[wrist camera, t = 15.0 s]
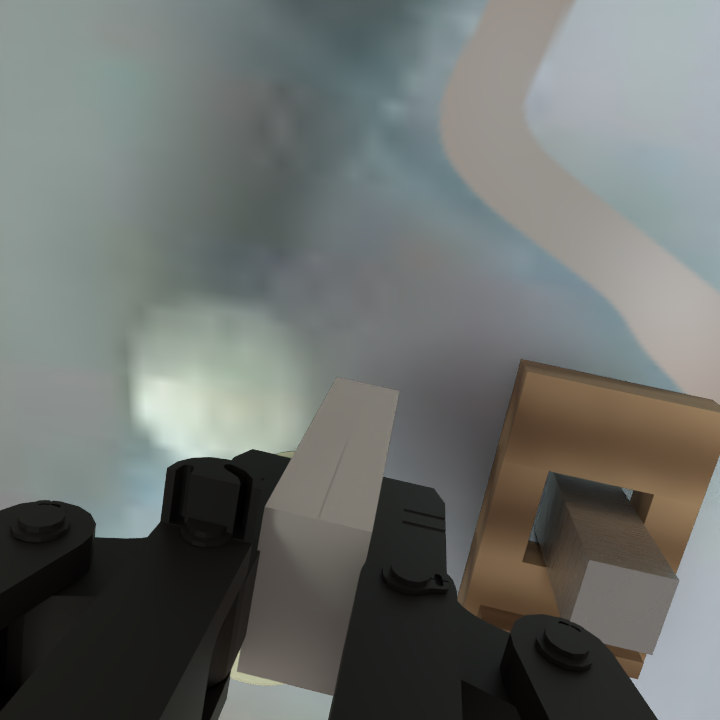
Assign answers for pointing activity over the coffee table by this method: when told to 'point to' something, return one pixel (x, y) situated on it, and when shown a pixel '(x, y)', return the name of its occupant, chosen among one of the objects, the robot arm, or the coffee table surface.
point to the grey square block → (604, 563)
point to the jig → (587, 461)
